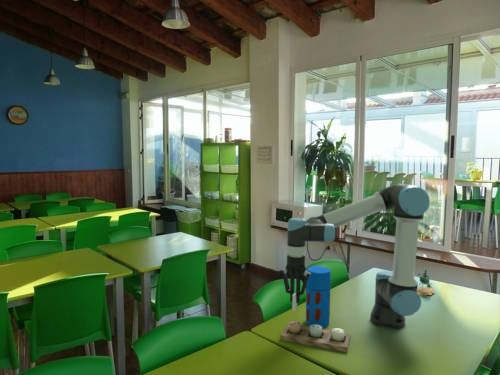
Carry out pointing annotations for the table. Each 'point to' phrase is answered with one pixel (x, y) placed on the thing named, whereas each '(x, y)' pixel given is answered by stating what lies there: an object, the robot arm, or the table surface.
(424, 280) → the frog figurine
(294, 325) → the button three
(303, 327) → the board
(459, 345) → the table surface
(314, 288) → the thermos
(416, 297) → the robot arm
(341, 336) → the button one
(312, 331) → the button two
